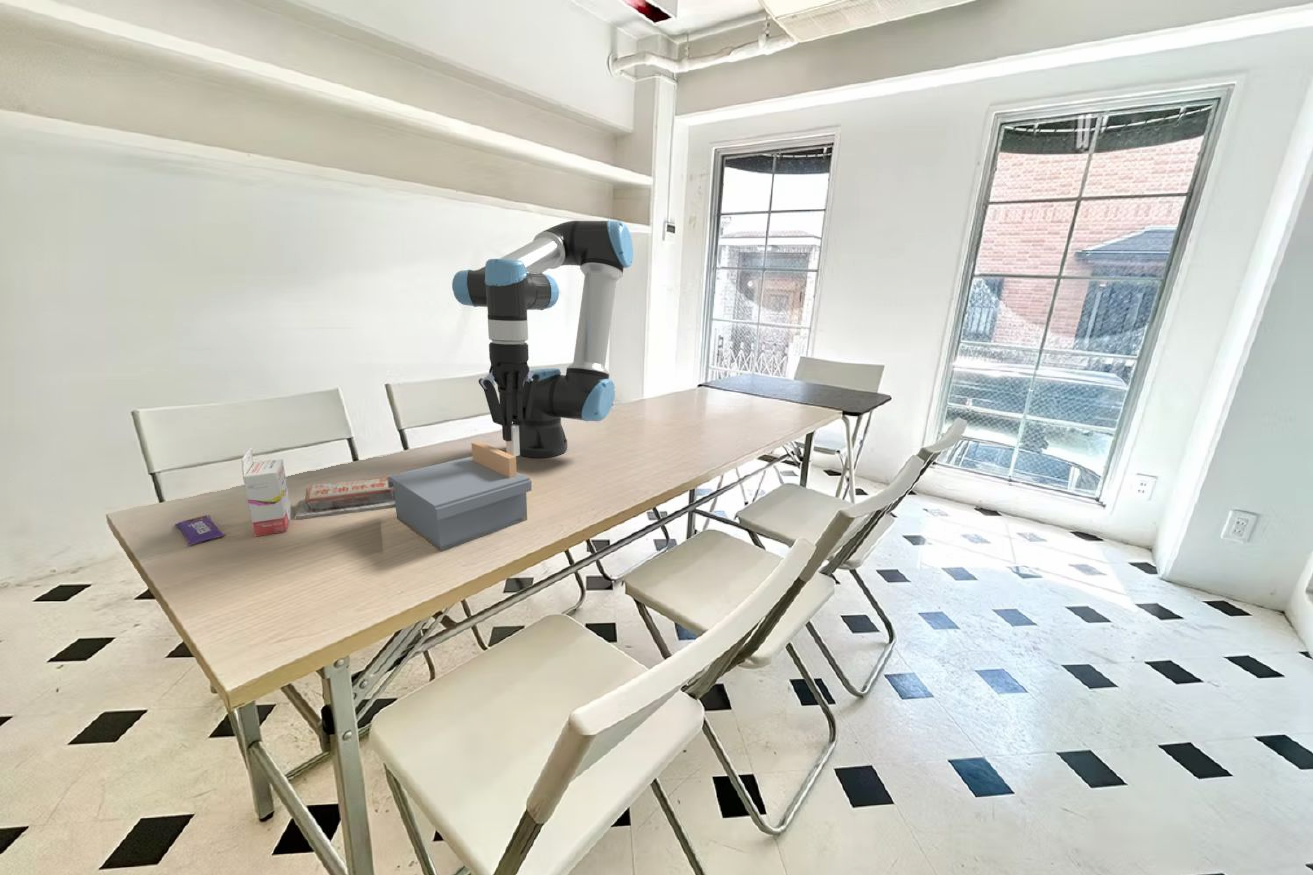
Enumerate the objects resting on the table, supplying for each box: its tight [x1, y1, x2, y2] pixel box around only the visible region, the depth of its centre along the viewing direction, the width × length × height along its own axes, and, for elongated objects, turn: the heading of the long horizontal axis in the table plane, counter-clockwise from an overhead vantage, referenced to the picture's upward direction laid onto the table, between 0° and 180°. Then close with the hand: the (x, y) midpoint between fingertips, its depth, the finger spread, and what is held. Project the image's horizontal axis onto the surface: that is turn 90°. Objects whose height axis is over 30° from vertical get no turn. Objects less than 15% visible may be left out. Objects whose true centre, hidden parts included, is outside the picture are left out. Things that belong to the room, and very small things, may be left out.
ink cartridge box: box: [241, 447, 293, 537], centre depth 93 cm, size 9×5×15 cm, turn 29°
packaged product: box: [294, 477, 396, 520], centre depth 104 cm, size 18×5×10 cm
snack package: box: [174, 515, 226, 546], centre depth 91 cm, size 12×2×5 cm
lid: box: [386, 440, 532, 520], centre depth 97 cm, size 19×20×6 cm
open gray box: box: [393, 484, 528, 553], centre depth 99 cm, size 18×18×8 cm
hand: (513, 454), depth 106 cm, fingers closed
